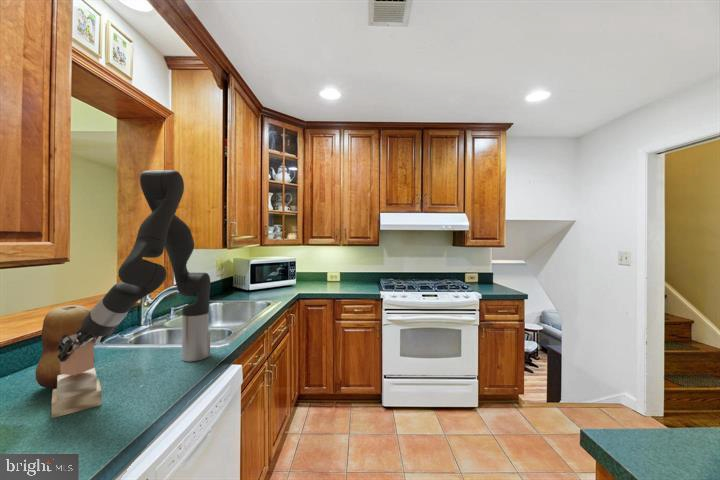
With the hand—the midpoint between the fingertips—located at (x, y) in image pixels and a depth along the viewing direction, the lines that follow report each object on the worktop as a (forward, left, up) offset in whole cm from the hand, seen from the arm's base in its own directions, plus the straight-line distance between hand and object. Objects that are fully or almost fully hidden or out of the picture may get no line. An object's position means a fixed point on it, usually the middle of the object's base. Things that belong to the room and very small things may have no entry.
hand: (72, 355), depth 89 cm
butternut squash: (+1, -16, -14) cm, 21 cm away
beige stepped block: (-1, +1, -14) cm, 14 cm away
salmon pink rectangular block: (-1, +1, -4) cm, 5 cm away
